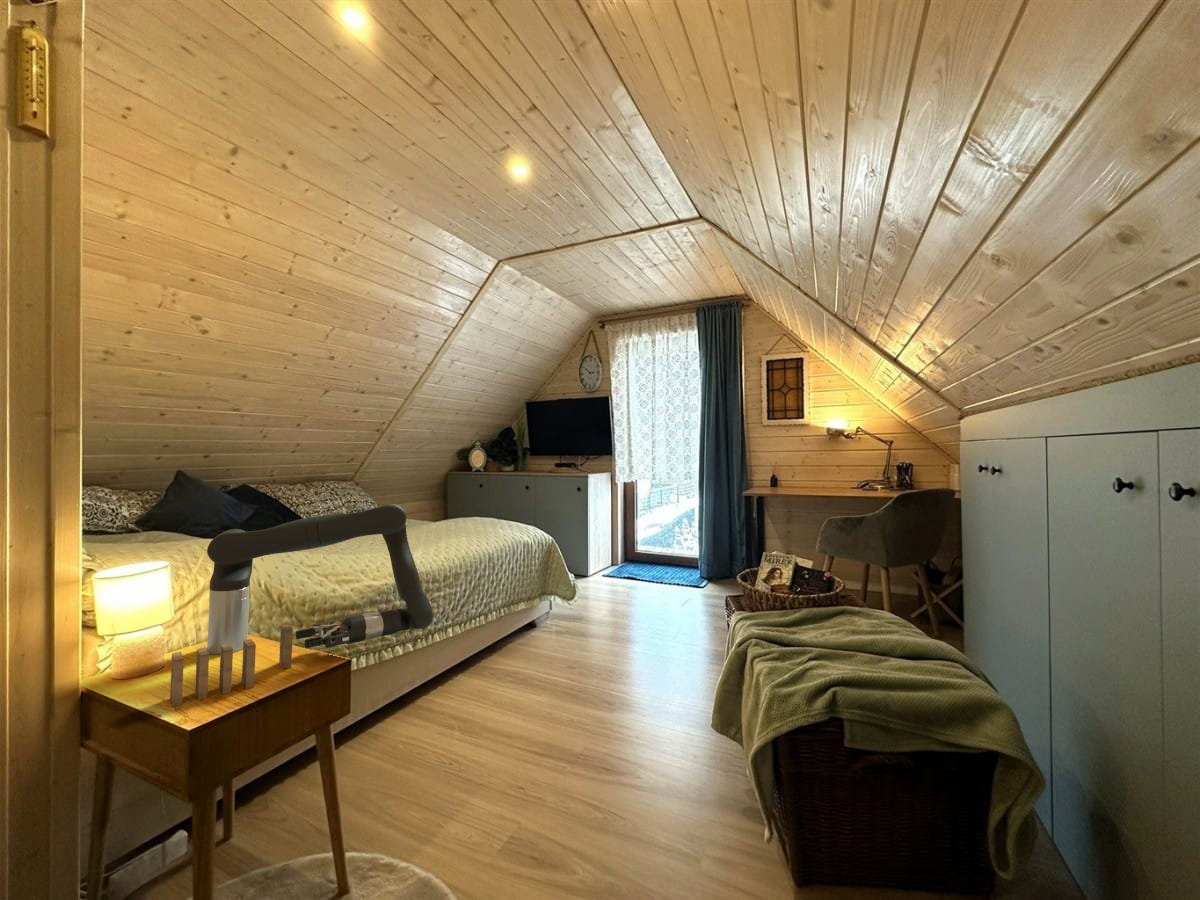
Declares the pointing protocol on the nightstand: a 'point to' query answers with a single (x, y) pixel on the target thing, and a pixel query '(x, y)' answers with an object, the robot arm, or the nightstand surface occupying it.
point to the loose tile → (286, 646)
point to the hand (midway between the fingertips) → (300, 639)
